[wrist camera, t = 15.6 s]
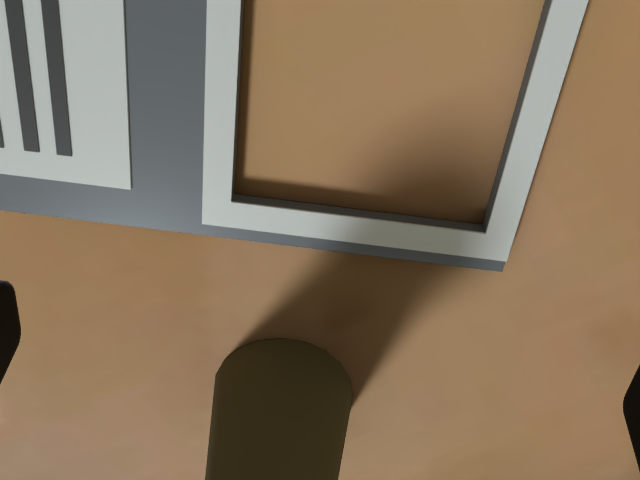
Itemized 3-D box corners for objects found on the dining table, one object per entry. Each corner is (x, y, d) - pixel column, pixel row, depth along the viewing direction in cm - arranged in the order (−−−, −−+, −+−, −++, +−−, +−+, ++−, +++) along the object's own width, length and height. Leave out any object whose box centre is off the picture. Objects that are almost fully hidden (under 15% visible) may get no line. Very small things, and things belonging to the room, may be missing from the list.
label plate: (-121, 187, 22) (-135, 195, 21) (-227, -217, 16) (-252, -223, 16) (499, 263, 22) (503, 274, 22) (611, -105, 17) (622, -105, 16)
